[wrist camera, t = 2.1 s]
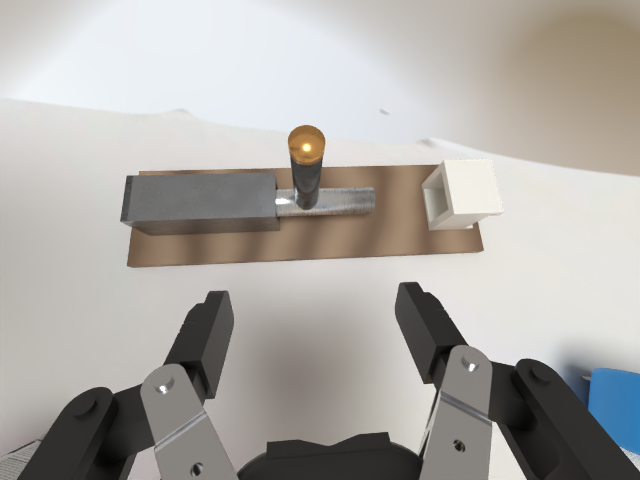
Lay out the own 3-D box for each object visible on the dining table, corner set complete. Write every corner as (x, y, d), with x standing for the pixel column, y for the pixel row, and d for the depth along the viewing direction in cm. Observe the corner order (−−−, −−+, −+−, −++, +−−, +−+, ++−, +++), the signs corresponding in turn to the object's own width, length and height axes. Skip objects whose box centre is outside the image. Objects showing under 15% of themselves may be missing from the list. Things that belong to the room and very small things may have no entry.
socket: (429, 230, 31) (454, 214, 25) (421, 184, 32) (443, 160, 27) (470, 228, 31) (504, 212, 26) (461, 183, 32) (491, 159, 27)
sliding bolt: (164, 224, 28) (67, 164, 17) (167, 199, 29) (75, 125, 17) (370, 217, 30) (410, 157, 18) (367, 193, 30) (405, 122, 19)
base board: (132, 267, 29) (126, 265, 28) (144, 175, 32) (139, 171, 31) (478, 252, 31) (483, 250, 30) (460, 168, 34) (465, 164, 33)
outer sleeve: (150, 235, 29) (120, 221, 24) (154, 196, 30) (126, 175, 25) (280, 231, 30) (275, 216, 25) (279, 193, 31) (275, 172, 26)
